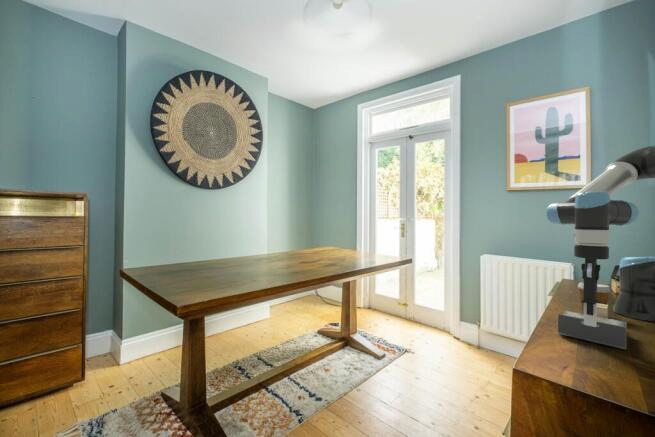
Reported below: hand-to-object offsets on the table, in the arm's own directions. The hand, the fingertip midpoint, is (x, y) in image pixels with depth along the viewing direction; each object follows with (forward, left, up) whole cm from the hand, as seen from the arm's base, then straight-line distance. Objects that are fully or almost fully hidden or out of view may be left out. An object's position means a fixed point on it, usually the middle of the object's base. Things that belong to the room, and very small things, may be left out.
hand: (590, 325), depth 85 cm
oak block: (-17, -17, -6) cm, 25 cm away
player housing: (-7, -7, -5) cm, 12 cm away
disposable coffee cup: (-26, -28, -6) cm, 39 cm away
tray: (-6, -6, -5) cm, 9 cm away
